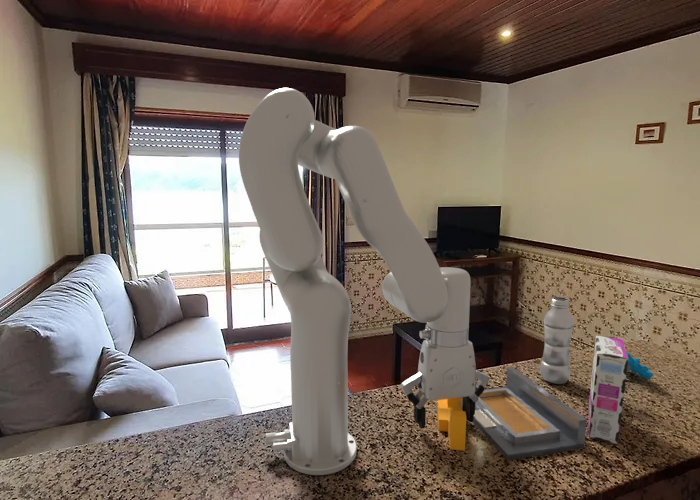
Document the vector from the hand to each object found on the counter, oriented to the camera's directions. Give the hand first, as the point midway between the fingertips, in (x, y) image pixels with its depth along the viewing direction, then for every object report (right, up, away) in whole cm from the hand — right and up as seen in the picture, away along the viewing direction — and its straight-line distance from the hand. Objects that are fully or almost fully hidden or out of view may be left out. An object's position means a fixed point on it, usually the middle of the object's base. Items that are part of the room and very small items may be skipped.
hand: (444, 421), depth 81 cm
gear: (+49, +2, +22) cm, 54 cm away
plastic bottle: (+30, +1, +20) cm, 36 cm away
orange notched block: (+1, -2, 0) cm, 2 cm away
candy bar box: (+31, -2, +1) cm, 31 cm away
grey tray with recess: (+14, -1, +3) cm, 14 cm away
